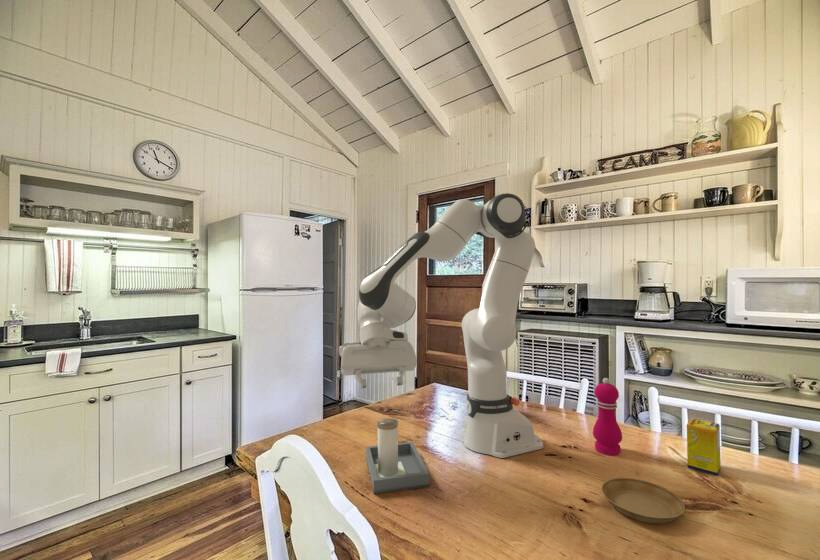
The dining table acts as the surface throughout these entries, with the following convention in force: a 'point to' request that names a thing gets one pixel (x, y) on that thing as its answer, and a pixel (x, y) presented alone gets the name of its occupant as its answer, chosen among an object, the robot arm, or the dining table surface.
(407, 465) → the tray
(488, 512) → the dining table surface
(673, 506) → the plant saucer
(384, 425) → the tube
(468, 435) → the robot arm
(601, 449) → the pepper mill
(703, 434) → the supplement box
